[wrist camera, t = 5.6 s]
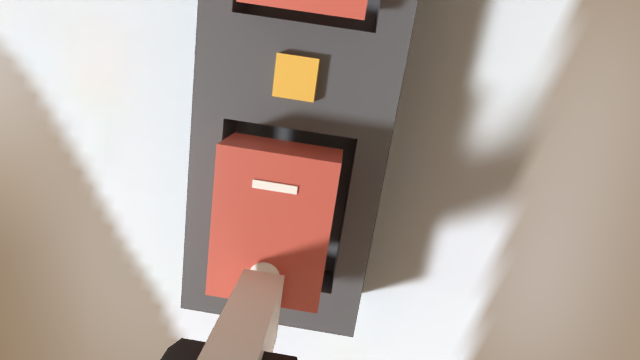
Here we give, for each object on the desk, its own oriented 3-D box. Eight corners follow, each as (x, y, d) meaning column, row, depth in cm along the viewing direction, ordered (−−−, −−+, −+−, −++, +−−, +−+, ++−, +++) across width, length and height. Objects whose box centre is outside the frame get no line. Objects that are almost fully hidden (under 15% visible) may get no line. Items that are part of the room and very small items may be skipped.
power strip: (252, -360, 16) (220, -493, 12) (470, -335, 15) (509, -463, 12) (206, 271, 23) (177, 312, 19) (353, 295, 23) (353, 342, 19)
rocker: (234, 132, 17) (215, 144, 15) (343, 149, 17) (341, 163, 15) (223, 265, 19) (204, 295, 16) (321, 282, 19) (317, 314, 16)
